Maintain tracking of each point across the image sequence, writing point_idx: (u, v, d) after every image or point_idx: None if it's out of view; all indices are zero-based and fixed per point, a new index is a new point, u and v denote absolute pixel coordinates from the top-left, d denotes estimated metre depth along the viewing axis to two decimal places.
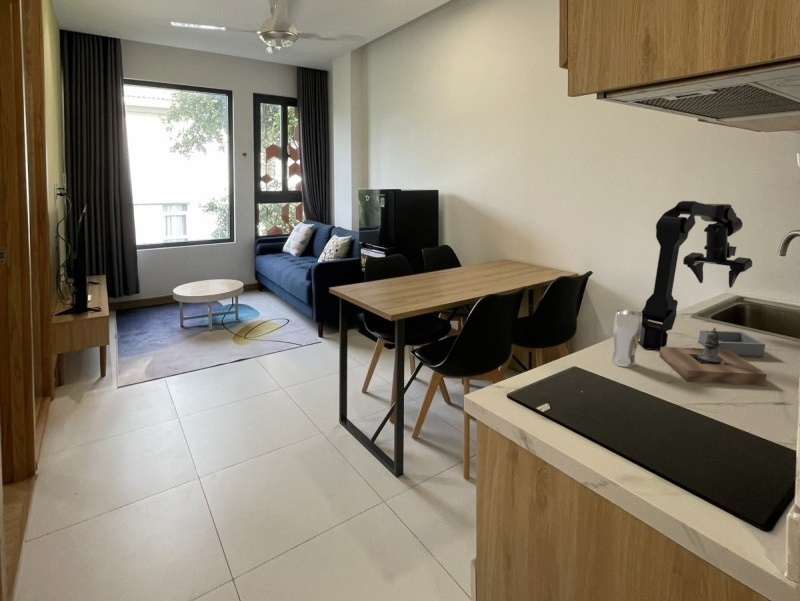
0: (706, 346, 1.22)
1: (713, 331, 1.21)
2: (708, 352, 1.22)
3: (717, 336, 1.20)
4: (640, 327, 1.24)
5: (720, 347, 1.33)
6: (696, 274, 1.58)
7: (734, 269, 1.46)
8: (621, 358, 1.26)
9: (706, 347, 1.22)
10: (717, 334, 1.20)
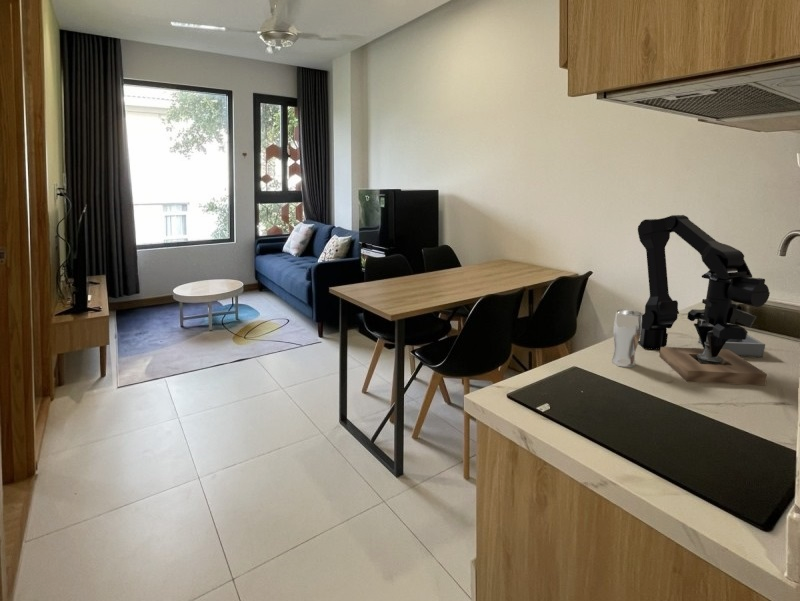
0: (706, 346, 1.22)
1: None
2: (708, 352, 1.22)
3: None
4: (640, 327, 1.24)
5: None
6: (700, 337, 1.25)
7: (715, 333, 1.15)
8: (621, 358, 1.26)
9: (706, 347, 1.22)
10: None
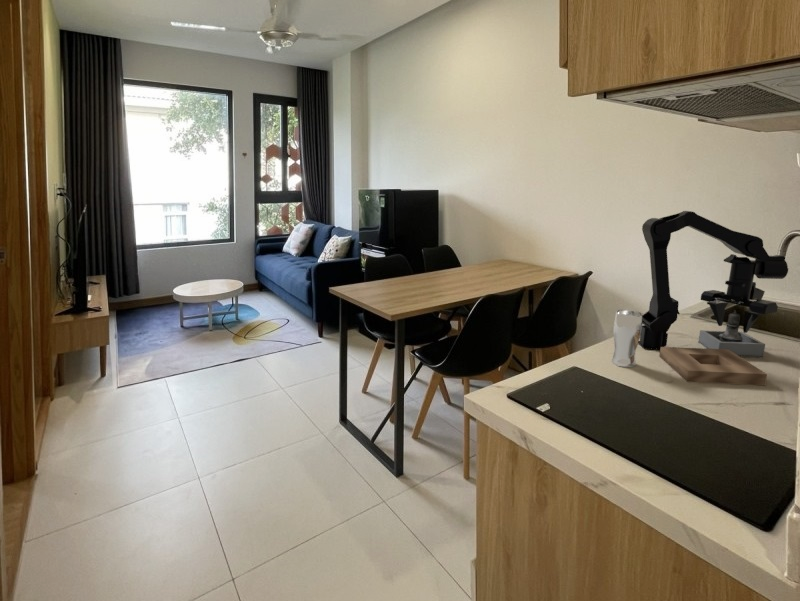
0: (730, 327, 1.36)
1: (735, 313, 1.36)
2: (733, 332, 1.36)
3: (739, 317, 1.35)
4: (640, 327, 1.24)
5: (720, 347, 1.33)
6: (715, 314, 1.40)
7: (754, 310, 1.28)
8: (621, 358, 1.26)
9: (730, 328, 1.37)
10: (739, 315, 1.35)
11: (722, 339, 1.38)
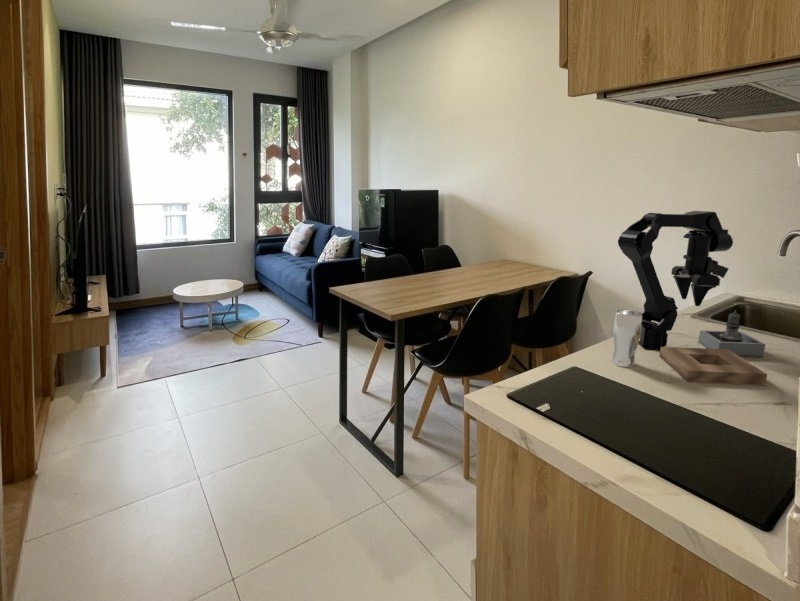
0: (730, 327, 1.37)
1: (735, 313, 1.36)
2: (733, 332, 1.36)
3: (739, 317, 1.35)
4: (640, 327, 1.24)
5: (720, 347, 1.33)
6: (678, 287, 1.48)
7: (693, 281, 1.35)
8: (621, 358, 1.26)
9: (730, 328, 1.37)
10: (739, 315, 1.35)
11: (722, 339, 1.38)
